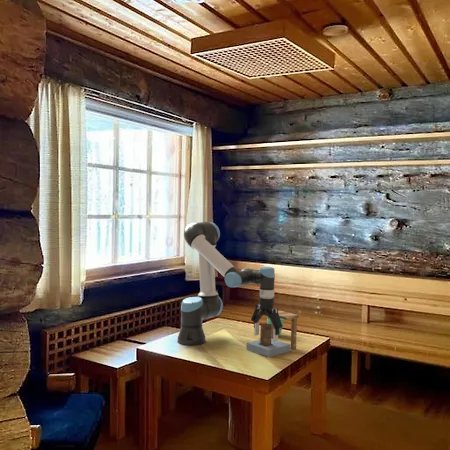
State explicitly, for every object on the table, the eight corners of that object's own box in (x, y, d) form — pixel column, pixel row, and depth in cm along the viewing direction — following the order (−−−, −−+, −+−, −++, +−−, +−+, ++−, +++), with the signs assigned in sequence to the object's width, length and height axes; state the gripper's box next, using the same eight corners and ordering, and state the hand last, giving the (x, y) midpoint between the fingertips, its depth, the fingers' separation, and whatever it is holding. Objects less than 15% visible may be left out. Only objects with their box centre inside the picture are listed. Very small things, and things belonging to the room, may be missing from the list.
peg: (260, 350, 256) (260, 323, 255) (265, 349, 258) (266, 322, 258) (265, 352, 253) (266, 325, 252) (271, 351, 255) (271, 324, 255)
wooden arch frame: (261, 344, 266) (262, 311, 265) (273, 341, 272) (273, 308, 271) (286, 353, 253) (287, 317, 252) (298, 349, 259) (299, 315, 258)
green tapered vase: (286, 337, 281) (286, 320, 281) (270, 338, 279) (270, 320, 278) (277, 330, 295) (277, 313, 295) (261, 331, 293) (262, 314, 292)
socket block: (246, 349, 258) (246, 342, 258) (268, 343, 268) (268, 337, 268) (268, 357, 246) (268, 350, 245) (290, 351, 256) (290, 344, 256)
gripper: (244, 294, 261) (244, 333, 262) (279, 302, 242) (278, 345, 243) (255, 292, 266) (254, 331, 267) (290, 300, 247) (289, 342, 248)
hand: (265, 338), depth 255 cm, fingers open, 13 cm apart
